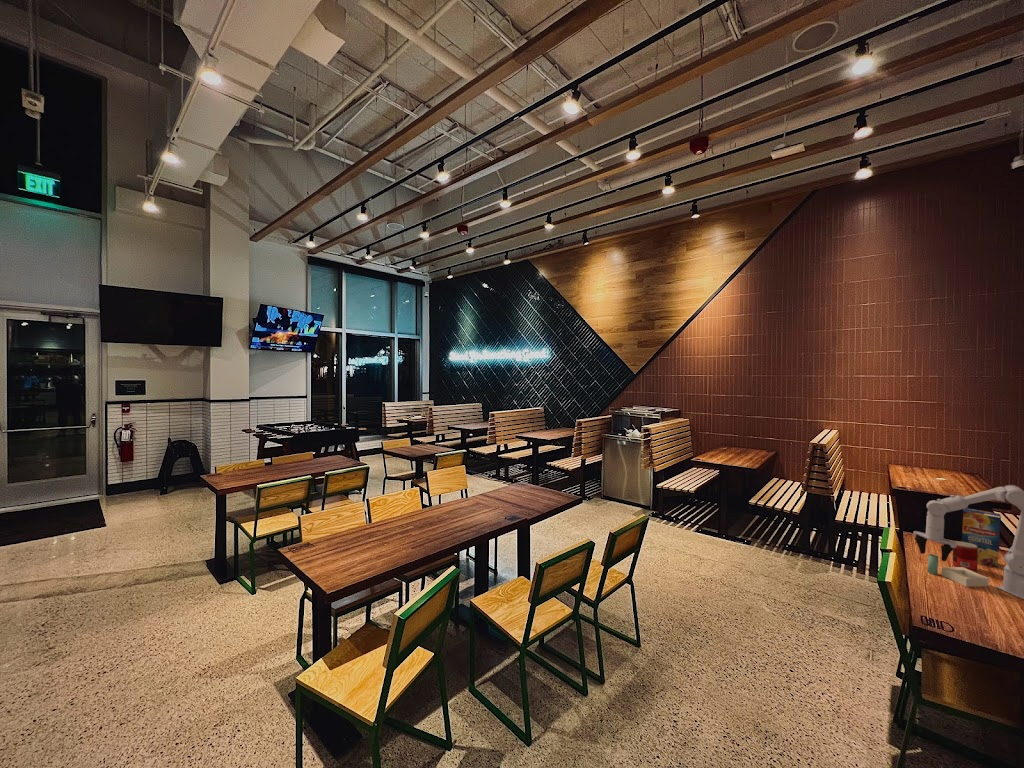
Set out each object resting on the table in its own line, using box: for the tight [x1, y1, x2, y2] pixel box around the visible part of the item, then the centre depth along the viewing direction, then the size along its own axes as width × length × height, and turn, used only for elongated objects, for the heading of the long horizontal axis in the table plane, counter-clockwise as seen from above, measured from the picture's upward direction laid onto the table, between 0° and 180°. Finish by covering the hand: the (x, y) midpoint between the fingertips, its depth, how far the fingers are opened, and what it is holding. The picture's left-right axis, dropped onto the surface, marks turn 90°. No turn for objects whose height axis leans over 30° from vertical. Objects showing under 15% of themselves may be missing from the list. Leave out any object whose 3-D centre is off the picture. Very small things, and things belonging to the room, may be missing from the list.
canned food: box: [952, 540, 979, 572], centre depth 197 cm, size 8×8×11 cm
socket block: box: [940, 566, 990, 588], centre depth 186 cm, size 10×10×4 cm
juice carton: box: [961, 507, 1002, 569], centre depth 203 cm, size 12×8×24 cm, turn 42°
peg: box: [927, 553, 939, 576], centre depth 192 cm, size 3×3×8 cm
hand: (933, 556), depth 192 cm, fingers open, 7 cm apart
